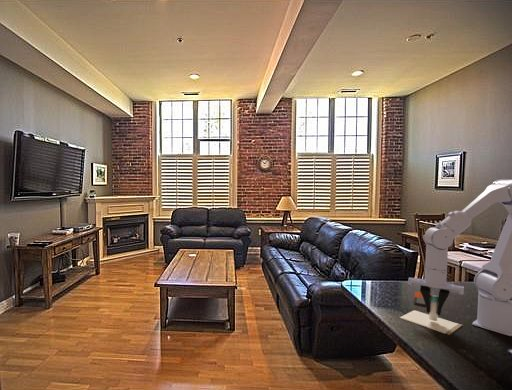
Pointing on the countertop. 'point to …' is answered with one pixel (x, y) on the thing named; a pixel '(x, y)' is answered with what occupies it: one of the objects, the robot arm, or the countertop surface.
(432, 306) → the marker
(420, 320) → the notepad
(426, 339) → the countertop surface
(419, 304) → the phone
